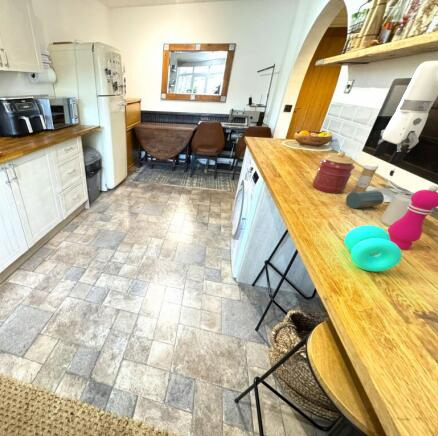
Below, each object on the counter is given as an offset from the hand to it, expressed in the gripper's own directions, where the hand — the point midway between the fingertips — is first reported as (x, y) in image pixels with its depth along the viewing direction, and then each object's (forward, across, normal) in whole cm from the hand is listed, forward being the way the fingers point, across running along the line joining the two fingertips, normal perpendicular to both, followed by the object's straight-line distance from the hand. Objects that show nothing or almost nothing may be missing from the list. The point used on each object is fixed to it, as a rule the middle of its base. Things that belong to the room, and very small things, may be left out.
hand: (385, 159), depth 85 cm
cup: (+18, +2, +2) cm, 18 cm away
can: (+21, -9, -7) cm, 24 cm away
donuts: (+21, -36, +15) cm, 44 cm away
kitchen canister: (+21, +22, +4) cm, 31 cm away
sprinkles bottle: (+21, +20, -9) cm, 31 cm away
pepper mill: (+21, -23, 0) cm, 31 cm away
